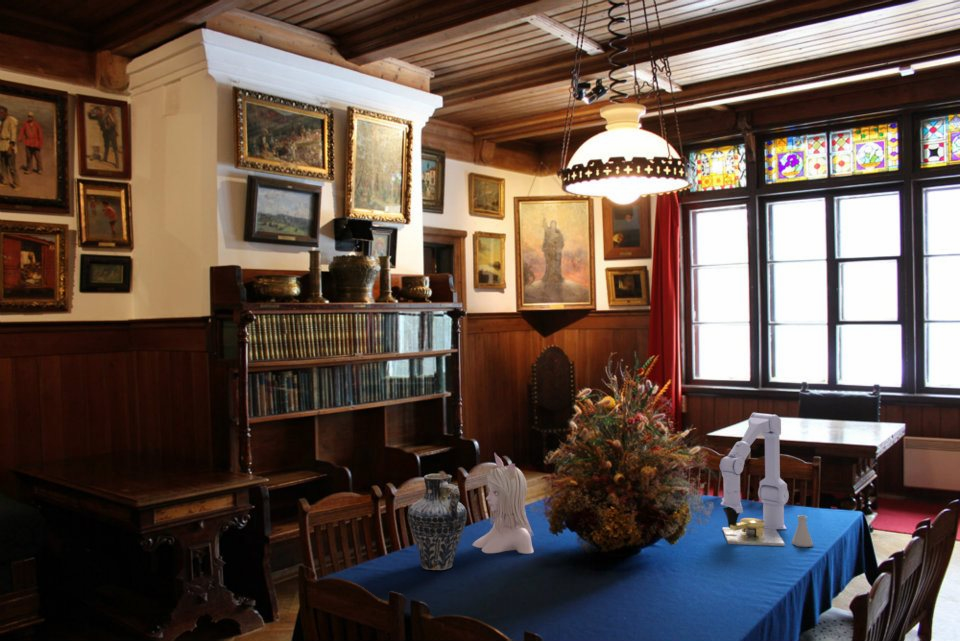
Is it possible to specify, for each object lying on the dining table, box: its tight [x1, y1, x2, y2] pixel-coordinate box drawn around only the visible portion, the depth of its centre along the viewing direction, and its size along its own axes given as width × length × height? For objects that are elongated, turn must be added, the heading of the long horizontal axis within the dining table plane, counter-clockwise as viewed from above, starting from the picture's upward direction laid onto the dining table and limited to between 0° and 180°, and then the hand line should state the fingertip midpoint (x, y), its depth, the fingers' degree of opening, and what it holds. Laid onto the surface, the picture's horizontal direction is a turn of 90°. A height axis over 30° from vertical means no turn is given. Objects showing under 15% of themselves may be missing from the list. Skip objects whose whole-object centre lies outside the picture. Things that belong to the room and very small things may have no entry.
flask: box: [791, 514, 814, 548], centre depth 275 cm, size 7×7×10 cm
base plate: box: [722, 526, 786, 547], centre depth 284 cm, size 18×19×4 cm
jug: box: [407, 472, 468, 571], centre depth 258 cm, size 21×19×30 cm
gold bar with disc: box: [730, 517, 765, 537], centre depth 283 cm, size 15×8×5 cm, turn 122°
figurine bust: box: [472, 452, 535, 555], centre depth 281 cm, size 26×20×32 cm
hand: (732, 528), depth 282 cm, fingers closed, pressing on gold bar with disc
